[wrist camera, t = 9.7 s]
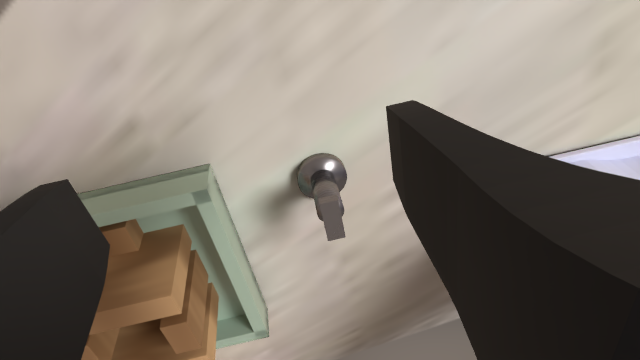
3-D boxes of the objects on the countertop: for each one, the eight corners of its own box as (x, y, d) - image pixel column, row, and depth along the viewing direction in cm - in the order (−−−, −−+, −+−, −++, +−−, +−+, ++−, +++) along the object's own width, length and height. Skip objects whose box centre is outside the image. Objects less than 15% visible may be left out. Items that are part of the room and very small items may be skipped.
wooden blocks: (172, 200, 21) (156, 271, 17) (218, 296, 25) (214, 369, 21) (55, 227, 21) (15, 303, 17) (122, 318, 25) (100, 395, 21)
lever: (341, 148, 21) (355, 190, 18) (348, 188, 22) (362, 233, 20) (292, 159, 21) (299, 203, 18) (302, 199, 22) (310, 244, 20)
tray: (209, 163, 20) (206, 188, 19) (267, 308, 27) (269, 336, 25) (0, 211, 20) (-21, 241, 19) (108, 345, 27) (99, 376, 25)
